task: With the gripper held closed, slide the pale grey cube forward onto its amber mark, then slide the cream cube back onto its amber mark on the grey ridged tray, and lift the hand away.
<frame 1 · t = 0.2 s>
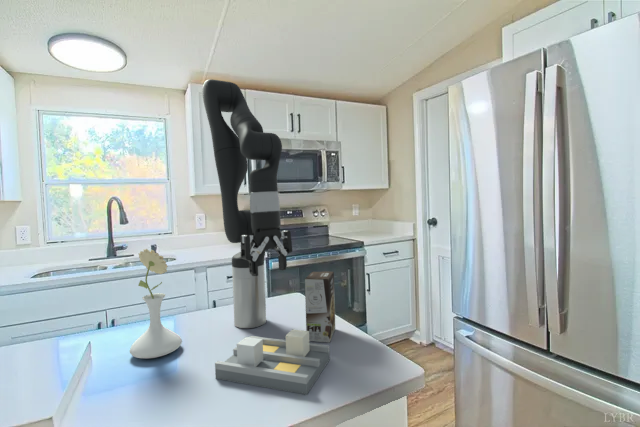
hand: (269, 272, 87), 17 cm above the counter, tool pointing down, fingers open, 8 cm apart
cream cube: (297, 343, 73), point 5 cm above the counter, slide at 8.0 cm
coffee box: (321, 335, 89), on the counter
flower in vase: (155, 352, 82), on the counter
pale grey cube: (250, 351, 70), point 5 cm above the counter, slide at 0.0 cm
grey ridged tray: (275, 368, 72), on the counter
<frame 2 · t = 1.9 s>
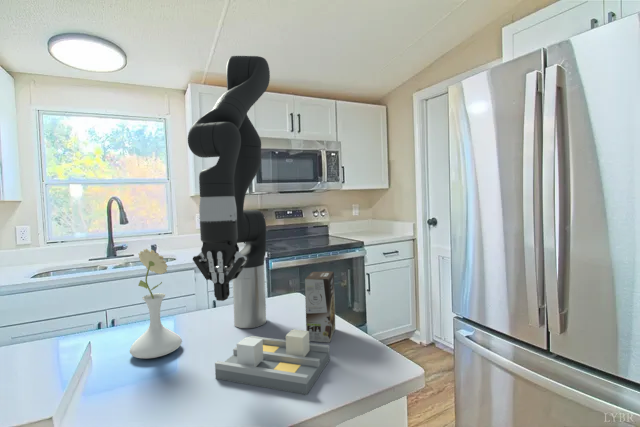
hand: (222, 299, 71), 15 cm above the counter, tool pointing down, fingers closed
nothing on the counter moved.
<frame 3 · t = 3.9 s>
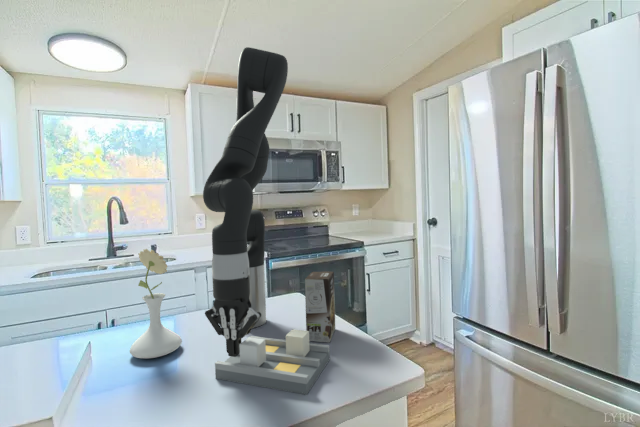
hand: (234, 354, 71), 4 cm above the counter, tool pointing down, fingers closed
pale grey cube: (252, 352, 70), point 5 cm above the counter, slide at 0.7 cm, touching gripper
everything else where it was.
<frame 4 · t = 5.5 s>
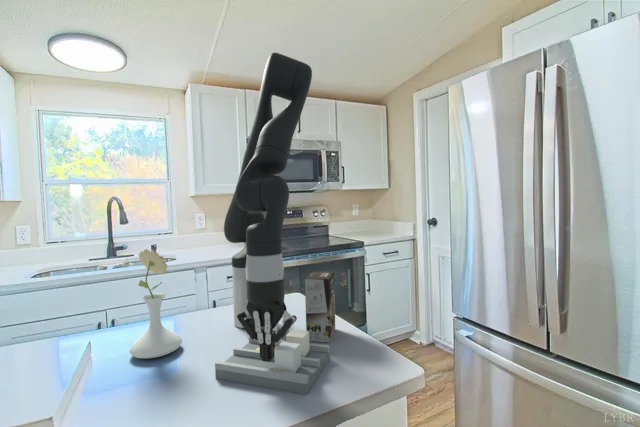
hand: (267, 359, 68), 4 cm above the counter, tool pointing down, fingers closed
pale grey cube: (287, 357, 67), point 5 cm above the counter, slide at 8.6 cm, touching gripper
everything else where it was.
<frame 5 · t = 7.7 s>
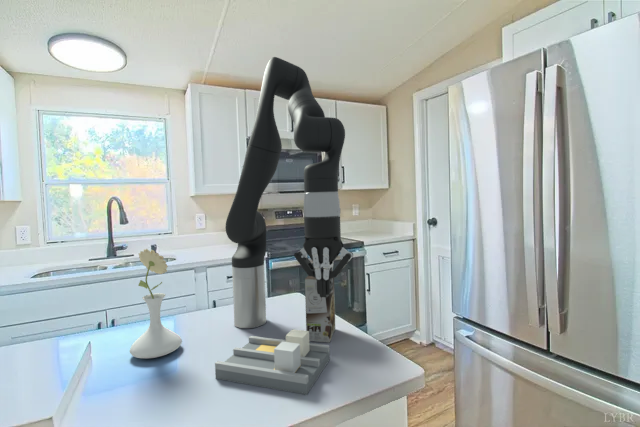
hand: (324, 296, 71), 15 cm above the counter, tool pointing down, fingers closed
pale grey cube: (287, 357, 67), point 5 cm above the counter, slide at 8.5 cm
everything else where it was.
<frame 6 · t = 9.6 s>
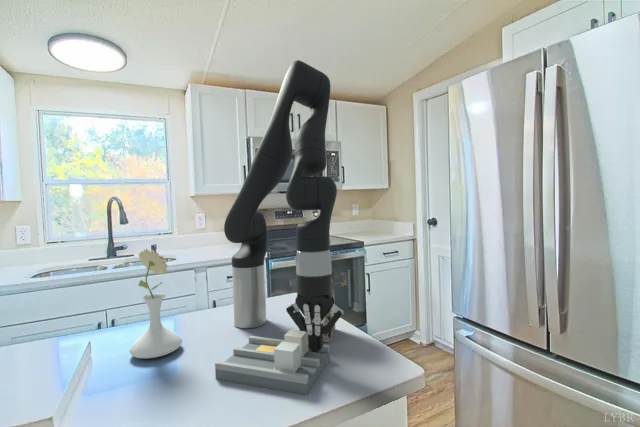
hand: (316, 350, 72), 3 cm above the counter, tool pointing down, fingers closed
cream cube: (296, 343, 73), point 5 cm above the counter, slide at 7.6 cm, touching gripper
everything else where it was.
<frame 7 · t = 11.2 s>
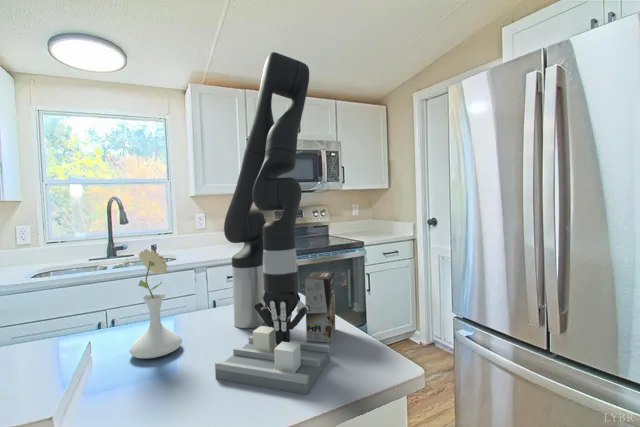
hand: (283, 345, 75), 4 cm above the counter, tool pointing down, fingers closed
cream cube: (264, 339, 76), point 5 cm above the counter, slide at -0.1 cm, touching gripper
everything else where it was.
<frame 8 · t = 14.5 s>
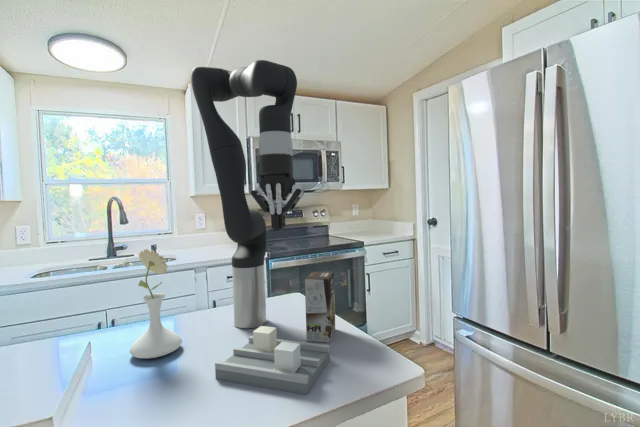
hand: (278, 230, 76), 29 cm above the counter, tool pointing down, fingers closed
cream cube: (265, 339, 76), point 5 cm above the counter, slide at 0.0 cm
everything else where it was.
at the end: pale grey cube slide at 8.5 cm; cream cube slide at 0.0 cm; coffee box moved 0.2 cm from its start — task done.
